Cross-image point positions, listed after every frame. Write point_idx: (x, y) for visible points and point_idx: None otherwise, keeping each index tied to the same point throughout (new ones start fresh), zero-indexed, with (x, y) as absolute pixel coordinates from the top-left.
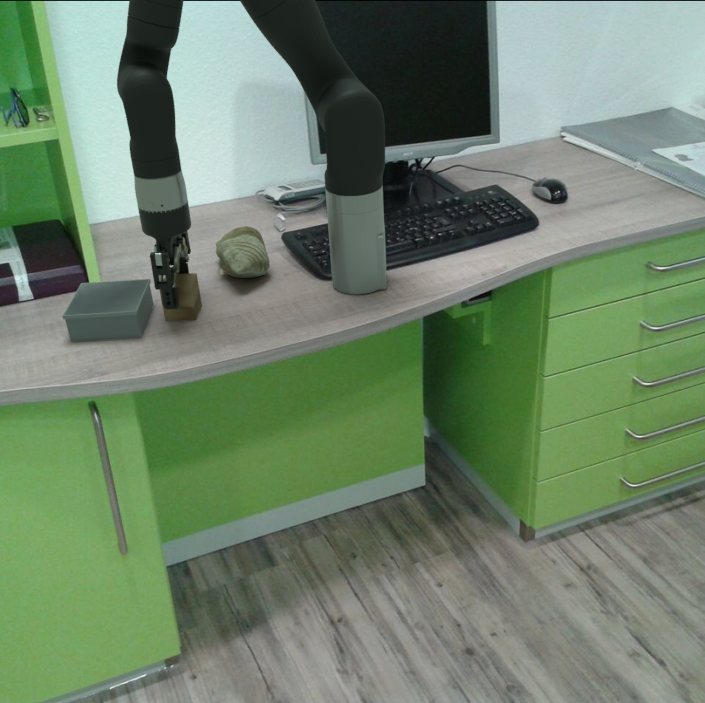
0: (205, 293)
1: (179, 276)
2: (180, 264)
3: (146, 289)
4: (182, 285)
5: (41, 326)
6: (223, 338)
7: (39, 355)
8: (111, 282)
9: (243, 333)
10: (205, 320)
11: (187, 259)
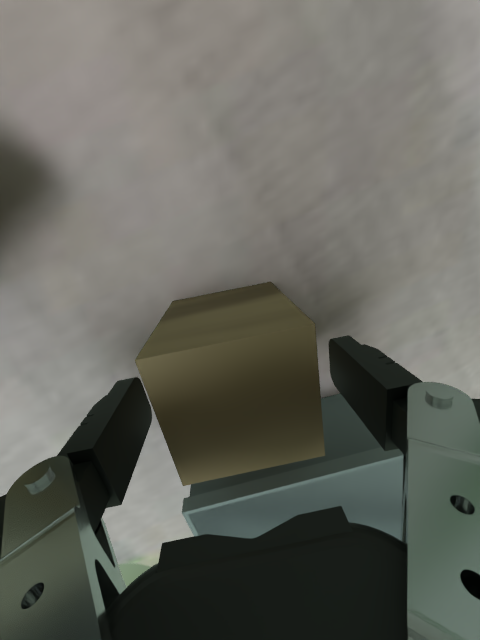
0: (86, 323)
1: (195, 426)
2: (103, 478)
3: (256, 487)
4: (296, 371)
5: None
6: (394, 127)
7: None
8: None
9: (362, 42)
10: (270, 248)
11: (52, 474)
